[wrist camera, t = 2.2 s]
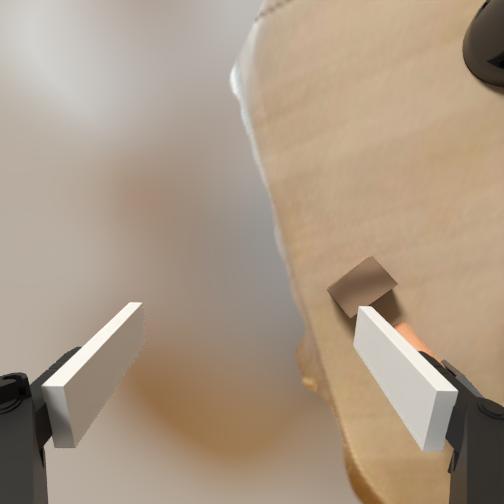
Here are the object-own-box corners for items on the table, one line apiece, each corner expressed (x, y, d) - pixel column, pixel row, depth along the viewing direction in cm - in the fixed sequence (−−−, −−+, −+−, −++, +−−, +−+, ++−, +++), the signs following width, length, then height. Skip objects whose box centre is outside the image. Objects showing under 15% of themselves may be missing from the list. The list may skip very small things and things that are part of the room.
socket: (389, 282, 40) (398, 284, 34) (348, 312, 42) (350, 318, 36) (367, 258, 41) (372, 256, 36) (327, 287, 43) (327, 290, 37)
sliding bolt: (510, 442, 33) (684, 611, 16) (489, 453, 33) (636, 627, 17) (402, 320, 37) (454, 357, 21) (385, 331, 38) (422, 376, 22)
